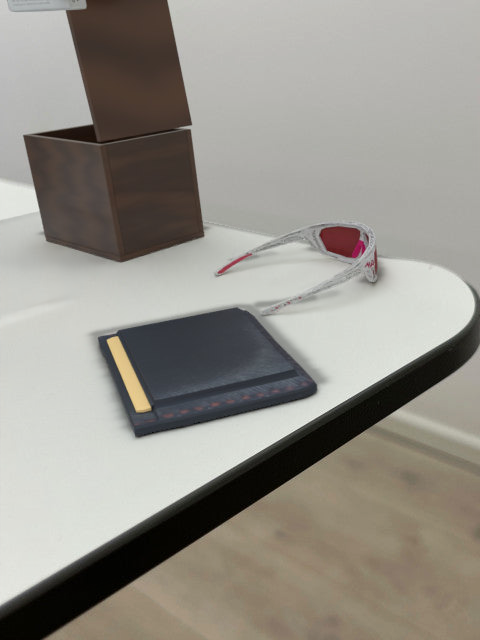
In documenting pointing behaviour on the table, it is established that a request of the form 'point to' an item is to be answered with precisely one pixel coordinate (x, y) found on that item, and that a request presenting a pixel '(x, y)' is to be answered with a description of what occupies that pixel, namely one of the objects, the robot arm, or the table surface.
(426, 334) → the table surface
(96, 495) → the table surface
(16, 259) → the table surface
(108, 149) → the chest
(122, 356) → the wallet
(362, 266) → the sunglasses
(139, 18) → the lid
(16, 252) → the table surface
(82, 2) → the cosmetic box
